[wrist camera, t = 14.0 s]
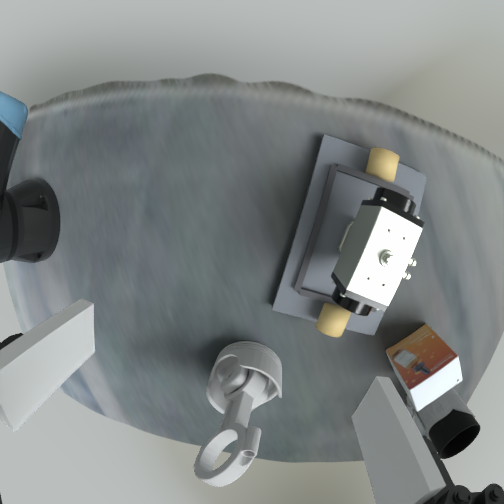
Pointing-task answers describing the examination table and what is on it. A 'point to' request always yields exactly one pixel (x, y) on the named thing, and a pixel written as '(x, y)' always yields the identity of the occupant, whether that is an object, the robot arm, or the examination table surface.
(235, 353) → the engine component
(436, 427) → the glass holder
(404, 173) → the mounting plate
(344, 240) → the pneumatic valve
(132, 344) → the examination table surface
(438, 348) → the small box
